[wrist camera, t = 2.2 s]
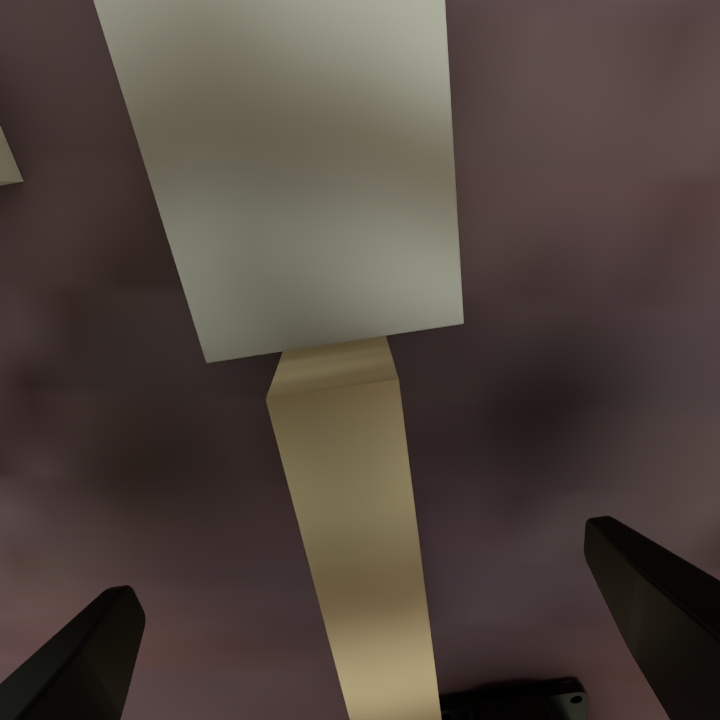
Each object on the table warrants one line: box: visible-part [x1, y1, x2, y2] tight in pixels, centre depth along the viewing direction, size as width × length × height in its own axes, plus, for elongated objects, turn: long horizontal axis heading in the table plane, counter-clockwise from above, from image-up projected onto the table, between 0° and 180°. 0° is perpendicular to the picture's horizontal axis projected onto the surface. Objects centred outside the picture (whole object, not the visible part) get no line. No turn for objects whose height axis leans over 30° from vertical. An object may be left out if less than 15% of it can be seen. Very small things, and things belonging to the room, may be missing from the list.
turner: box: [94, 0, 464, 720], centre depth 11 cm, size 21×7×4 cm, turn 8°
